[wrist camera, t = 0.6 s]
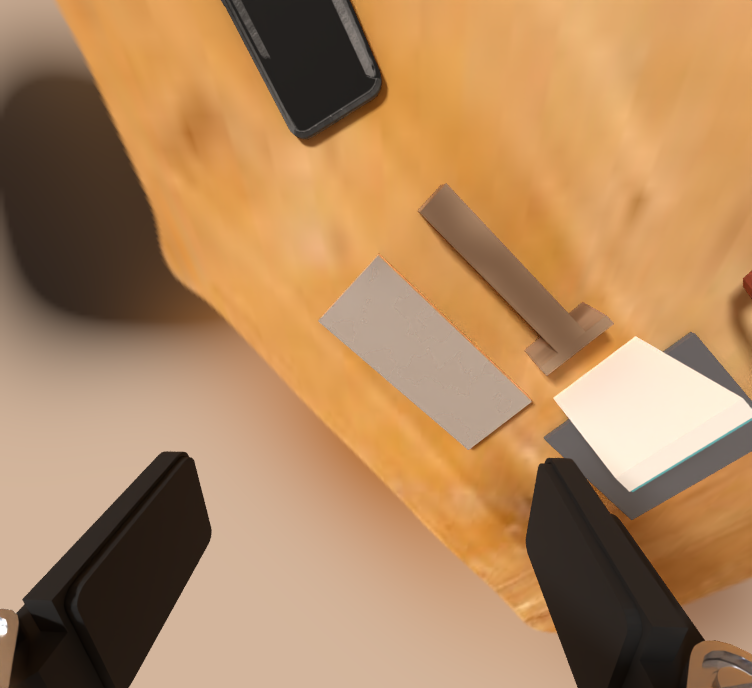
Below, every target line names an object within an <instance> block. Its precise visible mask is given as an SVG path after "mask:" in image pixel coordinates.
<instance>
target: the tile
mask: <svg viewBox="0 0 752 688" xmlns="http://www.w3.org/2000/svg"><path fill="white" fill-rule="evenodd" d="M554 400H555V401H556V402H557V404H558V405H559V406H560V407H561V409H562V410H563V411H564V413H565V414H566V415H567V416H568V418H569V419H570V420H571V422H572V423H573V424H574V425H575V427H576V428H577V429H578V431H579V432H580V433H581V434H582V436H583V437H584V438H585V440H586V441H587V442H588V443H589V445H590V446H591V447H592V449H593V450H594V451H595V453H596V454H597V455H598V456H599V458H600V459H601V460H602V462H603V463H604V464H605V465H606V467H607V468H608V469H609V471H610V472H611V473H612V474H613V476H614V477H615V478H616V479H617V480H618V481H619V482H620V483H621V484H622V485H623V486H624V487H625V488H626V489H627V490H628V491H629V492H630V491H632V492H634V491H635V490H637V489H639V488H640V487H642V486H644V485H645V484H647V483H649V482H650V481H652V480H654V479H655V478H657V477H659V476H660V475H662V474H664V473H665V472H667V471H669V470H670V469H672V468H674V467H675V466H677V465H679V464H680V463H682V462H684V461H685V460H687V459H689V458H690V457H692V456H694V455H695V454H697V453H698V452H700V451H702V450H703V449H705V448H707V447H708V446H710V445H712V444H713V443H715V442H717V441H718V440H720V439H722V438H723V437H725V436H727V435H728V434H730V433H732V432H733V431H735V430H737V429H738V428H740V427H742V426H743V425H745V424H747V423H748V422H750V421H752V408H751V407H750V406H749V405H748V404H747V403H746V401H745V400H744V399H743V398H742V397H740V396H738V395H736V394H735V393H733V392H731V391H729V390H728V389H726V388H724V387H722V386H721V385H719V384H717V383H716V382H714V381H712V380H710V379H709V378H707V377H705V376H703V375H702V374H700V373H698V372H697V371H695V370H693V369H691V368H690V367H688V366H686V365H684V364H683V363H681V362H679V361H677V360H676V359H674V358H672V357H671V356H669V355H667V354H665V353H664V352H662V351H660V350H658V349H657V348H655V347H653V346H652V345H650V344H648V343H646V342H645V341H643V340H641V339H639V338H638V337H636V336H635V337H634V338H633V339H631V340H630V341H629V342H627V343H626V344H625V345H623V346H622V347H621V348H619V349H618V350H617V351H615V352H614V353H613V354H611V355H610V356H609V357H607V358H606V359H605V360H603V361H602V362H601V363H599V364H598V365H597V366H595V367H594V368H593V369H591V370H590V371H589V372H587V373H586V374H585V375H583V376H582V377H581V378H579V379H578V380H577V381H575V382H574V383H573V384H571V385H570V386H569V387H567V388H566V389H565V390H563V391H562V392H561V393H559V394H558V395H557V396H555V397H554Z"/></svg>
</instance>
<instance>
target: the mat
mask: <svg viewBox="0 0 752 688" xmlns="http://www.w3.org/2000/svg"><path fill="white" fill-rule="evenodd" d="M663 352H664V353H665V354H667V355H669V356H671V357H672V358H674V359H676V360H677V361H679V362H681V363H683V364H684V365H686V366H688V367H690V368H691V369H693V370H695V371H697V372H698V373H700V374H702V375H703V376H705V377H707V378H709V379H710V380H712V381H714V382H716V383H717V384H719V385H721V386H722V387H724V388H726V389H728V390H729V391H731V392H733V393H735V394H736V395H738V396H740V397H742V398H743V399H744V400H745V401H746V403H747V404H748V405H749V406H750V407H751V408H752V401H751V400H750V398H749V397H748V396H747V395H746V394H745V392H744V391H743V390H742V389H741V388H740V386H739V385H738V384H737V383H736V382H735V381H734V379H733V378H732V377H731V376H730V375H729V373H728V372H727V371H726V370H725V369H724V367H723V366H722V365H721V364H720V363H719V362H718V360H717V359H716V358H715V357H714V356H713V354H712V353H711V352H710V351H709V350H708V348H707V347H706V346H705V345H704V344H703V343H702V341H701V340H700V339H699V338H698V337H697V335H696V334H695V333H692V332H690V333H689V334H687V335H686V336H684V337H683V338H682V339H680V340H679V341H677V342H676V343H675V344H673V345H672V346H670V347H669V348H668V349H666V350H665V351H663ZM544 439H545V440H546V441H547V442H548V443H549V444H550V445H551V446H552V447H553V448H554V449H555V450H556V451H558V452H559V453H560V454H561V455H562V456H563V457H564V458H570V459H572V460H573V461H574V462H575V463H576V465H577V466H578V467H579V469H580V470H581V472H582V473H583V475H584V476H585V477H586V478H587V479H588V480H589V481H590V482H591V483H592V484H593V485H594V486H595V487H596V488H597V489H599V490H600V491H601V492H602V493H603V494H604V495H605V496H606V497H607V498H608V499H609V500H610V501H611V502H613V503H614V504H615V505H616V506H617V507H618V508H619V509H620V510H621V511H622V512H623V513H624V514H626V515H627V516H628V517H629V518H630V519H631V520H633V519H635V518H636V517H638V516H640V515H642V514H643V513H645V512H647V511H649V510H650V509H652V508H654V507H656V506H657V505H659V504H661V503H663V502H664V501H666V500H668V499H669V498H671V497H673V496H675V495H676V494H678V493H680V492H682V491H683V490H685V489H687V488H689V487H690V486H692V485H694V484H696V483H697V482H699V481H701V480H703V479H704V478H706V477H708V476H709V475H711V474H713V473H715V472H716V471H718V470H720V469H722V468H723V467H725V466H727V465H729V464H730V463H732V462H734V461H736V460H737V459H739V458H741V457H743V456H744V455H746V454H748V453H749V452H751V451H752V421H750V422H748V423H747V424H745V425H743V426H742V427H740V428H738V429H737V430H735V431H733V432H732V433H730V434H728V435H727V436H725V437H723V438H722V439H720V440H718V441H717V442H715V443H713V444H712V445H710V446H708V447H707V448H705V449H703V450H702V451H700V452H698V453H697V454H695V455H694V456H692V457H690V458H689V459H687V460H685V461H684V462H682V463H680V464H679V465H677V466H675V467H674V468H672V469H670V470H669V471H667V472H665V473H664V474H662V475H660V476H659V477H657V478H655V479H654V480H652V481H650V482H649V483H647V484H645V485H644V486H642V487H640V488H639V489H637V490H635V491H634V492H632V491H630V492H629V491H628V490H627V489H626V488H625V487H624V486H623V485H622V484H621V483H620V482H619V481H618V480H617V479H616V478H615V477H614V476H613V474H612V473H611V472H610V471H609V469H608V468H607V467H606V465H605V464H604V463H603V462H602V460H601V459H600V458H599V456H598V455H597V454H596V453H595V451H594V450H593V449H592V447H591V446H590V445H589V443H588V442H587V441H586V440H585V438H584V437H583V436H582V434H581V433H580V432H579V431H578V429H577V428H576V427H575V425H574V424H573V423H572V422H571V420H570V419H568V420H567V421H566V422H564V423H563V424H561V425H560V426H559V427H557V428H556V429H554V430H553V431H552V432H550V433H549V434H547V435H546V436H545V437H544Z"/></svg>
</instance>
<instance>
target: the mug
mask: <svg viewBox="0 0 752 688" xmlns="http://www.w3.org/2000/svg"><path fill="white" fill-rule="evenodd" d="M743 287H744V288H745V290H746V291H747V293H748V294H749V296H750V297H751V299H752V271H751V272H750V273H749V274H747V275H746V276H745V277H744V278H743Z"/></svg>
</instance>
